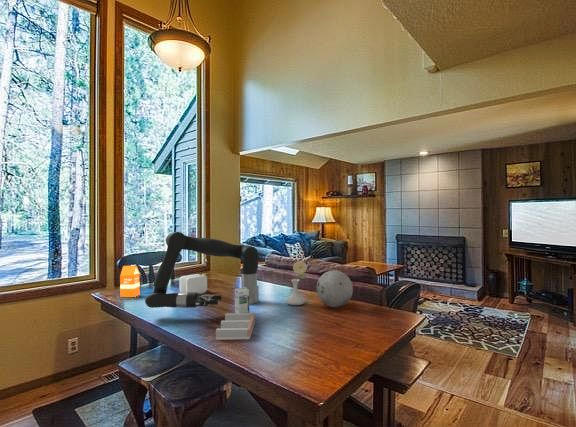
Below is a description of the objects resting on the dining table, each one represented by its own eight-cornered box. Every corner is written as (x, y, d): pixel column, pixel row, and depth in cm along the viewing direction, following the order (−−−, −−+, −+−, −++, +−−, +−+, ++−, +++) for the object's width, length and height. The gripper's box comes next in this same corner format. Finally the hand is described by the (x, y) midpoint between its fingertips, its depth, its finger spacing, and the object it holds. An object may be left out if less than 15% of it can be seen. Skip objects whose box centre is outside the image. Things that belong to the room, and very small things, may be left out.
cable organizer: (186, 296, 203) (185, 278, 203) (179, 293, 211) (178, 276, 211) (207, 292, 213) (207, 275, 213) (200, 289, 221) (199, 273, 221)
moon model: (360, 306, 176) (359, 270, 176) (339, 314, 162) (338, 275, 162) (331, 299, 190) (330, 266, 190) (309, 307, 176) (308, 270, 176)
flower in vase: (282, 305, 179) (282, 261, 179) (290, 300, 190) (289, 258, 190) (304, 308, 174) (303, 262, 174) (310, 302, 185) (310, 259, 185)
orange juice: (134, 298, 201) (133, 266, 201) (120, 298, 202) (119, 266, 202) (139, 294, 209) (139, 264, 209) (126, 295, 209) (126, 264, 209)
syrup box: (238, 319, 156) (238, 290, 156) (235, 316, 161) (234, 288, 161) (249, 318, 159) (249, 289, 159) (245, 314, 164) (245, 286, 164)
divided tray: (215, 339, 132) (215, 330, 132) (226, 321, 154) (225, 313, 154) (249, 339, 132) (249, 329, 132) (254, 321, 154) (254, 313, 154)
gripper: (182, 296, 153) (216, 295, 153) (191, 289, 167) (222, 289, 167) (182, 311, 153) (216, 311, 153) (191, 303, 167) (222, 303, 167)
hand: (219, 299), depth 160 cm, fingers open, 8 cm apart
